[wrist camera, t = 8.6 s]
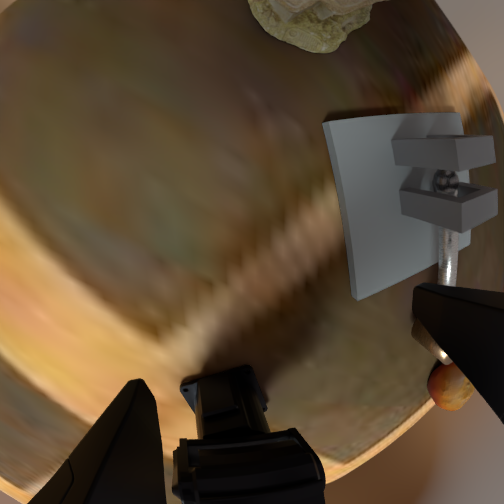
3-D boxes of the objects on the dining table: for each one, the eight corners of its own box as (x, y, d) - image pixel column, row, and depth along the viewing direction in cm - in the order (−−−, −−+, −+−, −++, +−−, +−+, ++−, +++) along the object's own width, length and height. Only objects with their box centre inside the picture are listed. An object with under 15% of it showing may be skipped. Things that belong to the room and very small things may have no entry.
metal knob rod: (433, 329, 25) (463, 353, 20) (410, 344, 25) (440, 371, 20) (434, 161, 19) (480, 166, 14) (407, 167, 19) (456, 173, 14)
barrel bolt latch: (463, 241, 24) (514, 262, 17) (351, 295, 23) (406, 342, 16) (452, 112, 20) (511, 111, 13) (322, 123, 18) (389, 107, 11)
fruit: (417, 413, 31) (451, 424, 23) (412, 367, 33) (450, 372, 25) (451, 390, 32) (485, 396, 25) (448, 347, 34) (484, 347, 26)
